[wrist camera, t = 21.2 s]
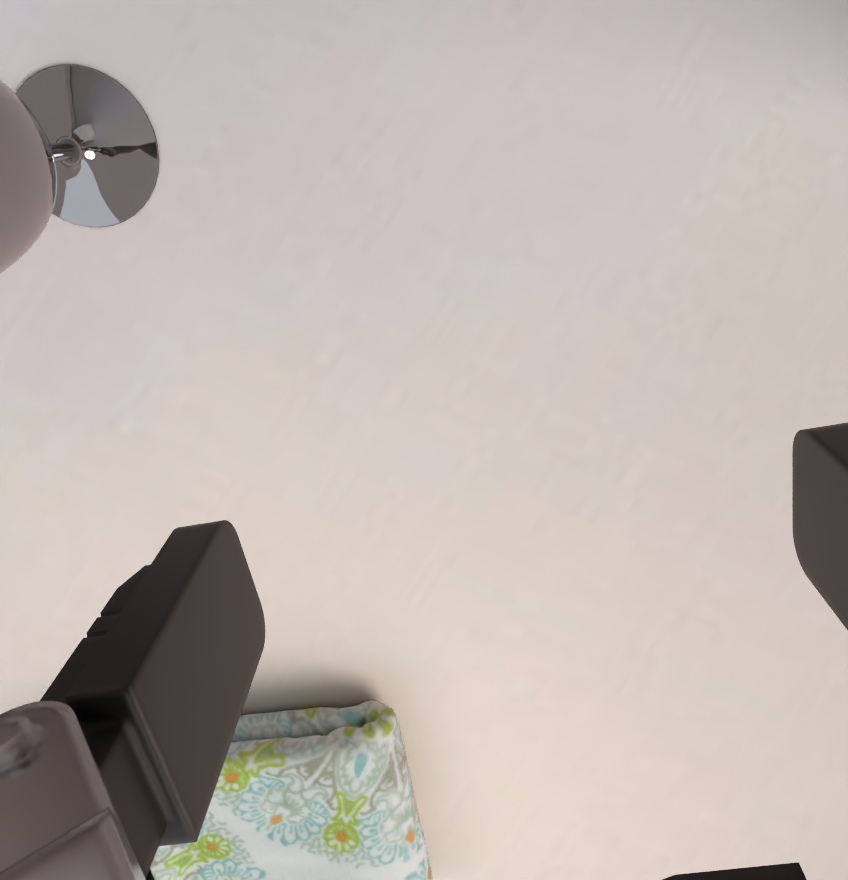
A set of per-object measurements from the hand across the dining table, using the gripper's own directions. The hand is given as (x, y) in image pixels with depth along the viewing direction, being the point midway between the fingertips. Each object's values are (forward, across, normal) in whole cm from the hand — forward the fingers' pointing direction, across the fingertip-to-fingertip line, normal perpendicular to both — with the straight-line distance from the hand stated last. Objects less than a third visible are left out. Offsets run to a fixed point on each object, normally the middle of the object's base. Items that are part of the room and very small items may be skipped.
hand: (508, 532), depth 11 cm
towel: (+28, +20, +36) cm, 50 cm away
